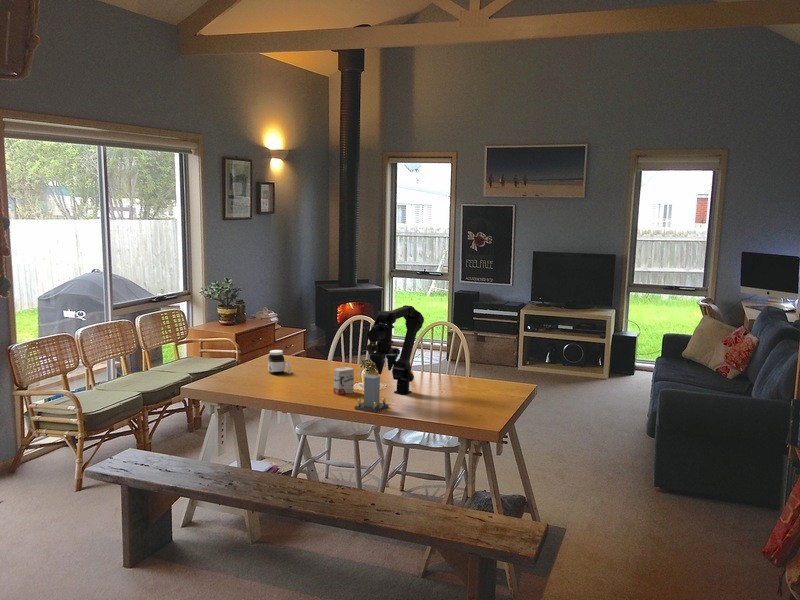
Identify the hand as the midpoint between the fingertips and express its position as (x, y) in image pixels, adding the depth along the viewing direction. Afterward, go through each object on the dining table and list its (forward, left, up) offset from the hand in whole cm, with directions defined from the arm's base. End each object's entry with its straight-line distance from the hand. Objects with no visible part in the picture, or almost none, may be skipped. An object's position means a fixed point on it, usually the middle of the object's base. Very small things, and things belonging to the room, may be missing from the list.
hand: (384, 372), depth 319 cm
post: (+14, +3, -12) cm, 19 cm away
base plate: (+14, +3, -13) cm, 19 cm away
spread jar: (-8, -72, -13) cm, 74 cm away
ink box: (+2, -22, -13) cm, 26 cm away
